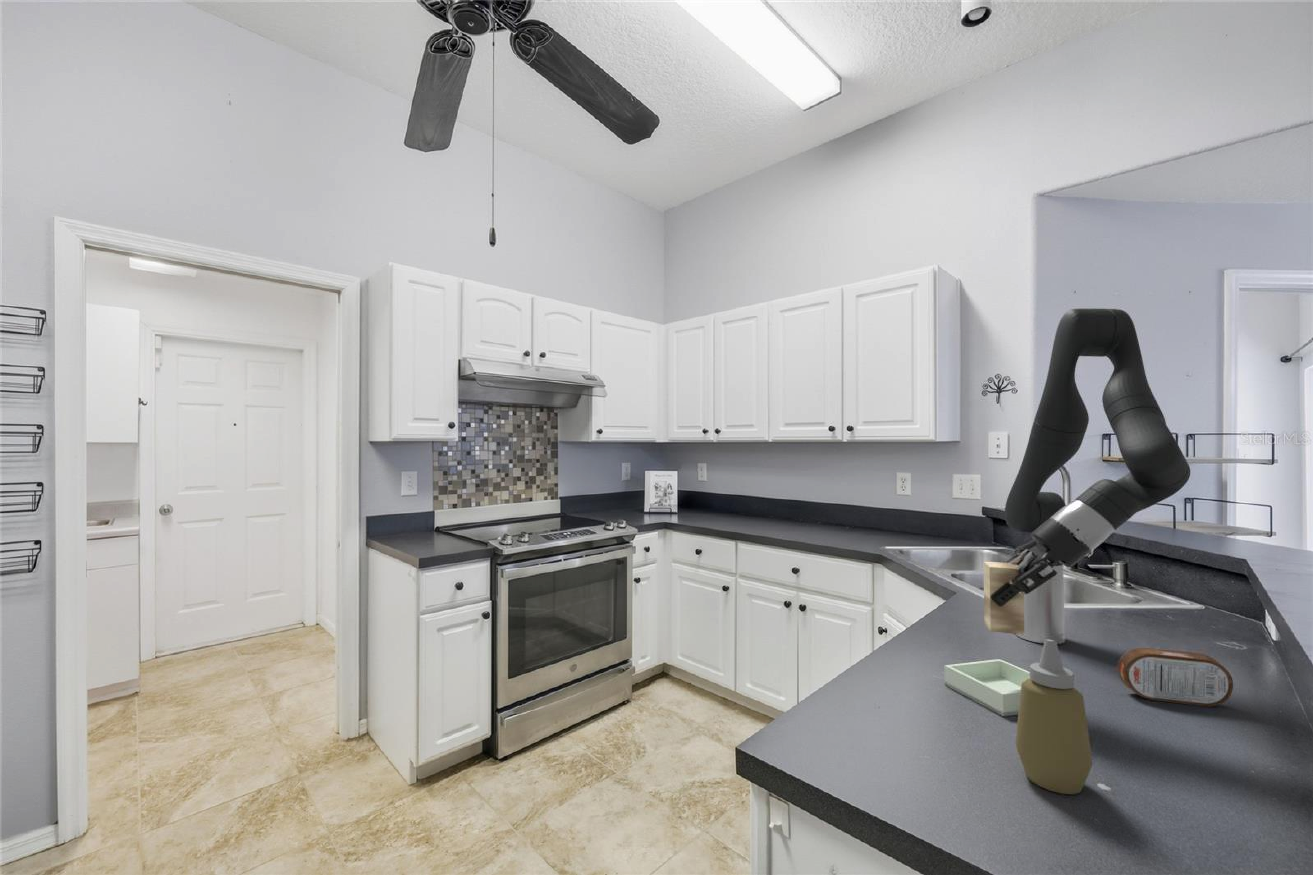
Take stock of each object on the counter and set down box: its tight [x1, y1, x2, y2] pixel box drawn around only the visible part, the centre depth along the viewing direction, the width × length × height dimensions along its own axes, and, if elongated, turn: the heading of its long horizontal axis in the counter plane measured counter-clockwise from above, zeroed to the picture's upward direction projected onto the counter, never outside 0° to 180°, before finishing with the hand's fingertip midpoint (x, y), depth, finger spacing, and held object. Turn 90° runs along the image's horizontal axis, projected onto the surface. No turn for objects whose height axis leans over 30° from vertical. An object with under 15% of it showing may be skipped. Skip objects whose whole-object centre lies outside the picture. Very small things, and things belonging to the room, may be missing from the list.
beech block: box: [982, 561, 1025, 635], centre depth 96 cm, size 5×5×11 cm
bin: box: [943, 658, 1030, 717], centre depth 96 cm, size 12×12×4 cm
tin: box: [1117, 646, 1234, 707], centre depth 94 cm, size 15×3×8 cm, turn 71°
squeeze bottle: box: [1015, 639, 1094, 795], centre depth 71 cm, size 8×8×18 cm
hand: (991, 597), depth 97 cm, fingers closed on beech block, 5 cm apart
